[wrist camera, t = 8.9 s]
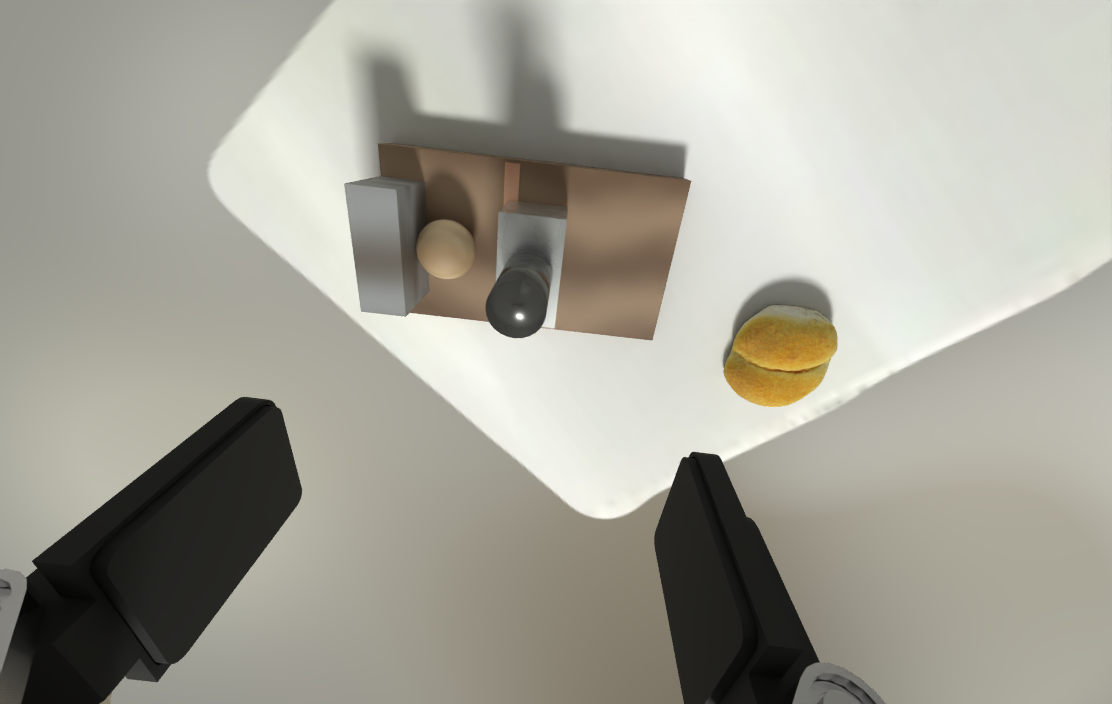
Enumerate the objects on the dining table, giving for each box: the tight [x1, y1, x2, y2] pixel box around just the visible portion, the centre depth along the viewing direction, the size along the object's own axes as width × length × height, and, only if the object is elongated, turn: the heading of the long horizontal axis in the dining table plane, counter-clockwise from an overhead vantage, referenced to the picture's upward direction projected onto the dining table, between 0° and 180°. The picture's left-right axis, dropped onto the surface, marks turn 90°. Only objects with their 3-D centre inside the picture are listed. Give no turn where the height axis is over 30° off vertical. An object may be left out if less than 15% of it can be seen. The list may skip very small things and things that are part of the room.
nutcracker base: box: [344, 143, 691, 340], centre depth 28 cm, size 12×21×7 cm, turn 84°
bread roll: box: [724, 305, 837, 407], centre depth 33 cm, size 8×9×4 cm
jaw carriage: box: [485, 200, 568, 338], centre depth 25 cm, size 7×4×11 cm, turn 174°
